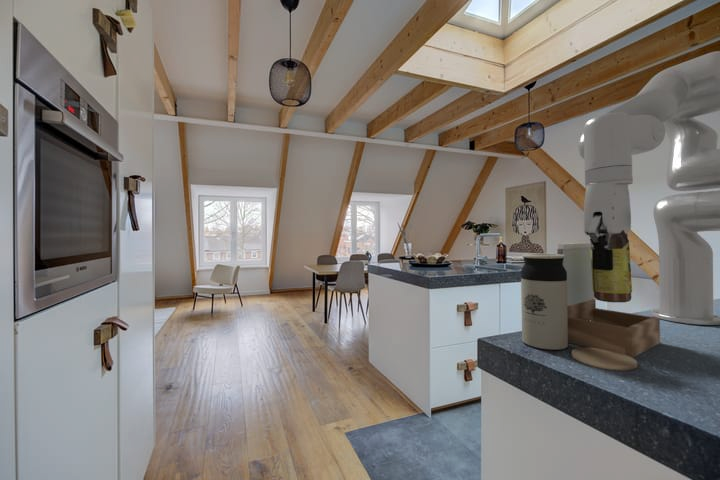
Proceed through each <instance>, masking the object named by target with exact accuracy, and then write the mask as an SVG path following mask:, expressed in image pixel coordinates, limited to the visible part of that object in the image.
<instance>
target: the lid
mask: <svg viewBox="0 0 720 480" xmlns="http://www.w3.org/2000/svg"><path fill="white" fill-rule="evenodd" d="M590 249H591V242H575V243H558V244H557V251H556V252H557V253H556V254H561V255H565V258H564V259H563V264H562V265H563V266H564V268H565V270H566V271H567V306H570V305H574V304H578V303H582V302H586V301H590V300H594V299H595V298H594V292H593V285H592V268H591V252H590Z"/></svg>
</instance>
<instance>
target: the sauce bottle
mask: <svg viewBox="0 0 720 480" xmlns="http://www.w3.org/2000/svg"><path fill="white" fill-rule="evenodd" d="M599 233H607V232H599ZM627 237H628V236H626V234H625V232H624V230H622V232H621V233H618V234H615V235H612V239H611V246H610V249H611V250H613V270H595V269H593V261H592V248H591V249H590V252H591V268H592V285H593V292H594V298H595V299H596V300H597V301H600V302H604V303H605V302H607V303H627V302H630V301H631V300H632V293H633V288H632V287H633V286H632V268H631V267H632V266H631V253H630V252H631V251H630V240H629V239H628V238H629V237H628V238H627ZM590 239H591V238H590V237H589V240H590ZM605 239H606V238H604V241H605ZM590 243H591V244H592V242H591V241H590Z"/></svg>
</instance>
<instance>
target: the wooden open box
mask: <svg viewBox="0 0 720 480" xmlns="http://www.w3.org/2000/svg"><path fill="white" fill-rule="evenodd" d="M596 300H597V299H594V300H590V301H586V302H582V303H578V304H574V305H570V306H567V314H568V344H569V343H570V344H574V345H578V346H581V347H584V348H585V347H587V348H600V349H606V350H611V351H615V352H619V353H622V354H625V355H628V356H630V357H632V358H633V359H634V358H635V357H637V356H639V355H641V354H642V353H644V352H646V351H648V350H650V349H651V348H653V347H655V346H657V345H659V344H660V343H661V329H660V327H661V321H660V318H657V317H654V316H649V315H643V314H642V315H641V314H636V313H630V312H624V311H623V312H622V311H617V310H611V309H604V308H599V307H598V308H596V307H597V306H596V303H597V302H596ZM590 320H591V321H590Z"/></svg>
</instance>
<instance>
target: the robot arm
mask: <svg viewBox="0 0 720 480" xmlns="http://www.w3.org/2000/svg"><path fill="white" fill-rule="evenodd" d="M715 112H720V50H717V51H711V52H708V53H706V54H703V55H700V56H697V57H695V58H692V59H690V60H689V59H688V60H687V61H684V62H681V63H678V64H675V65H673V66H670V67H668V68H666V69H663V70H662V71H660V72H658V73H657V74H655V75H654V76H652V78H650V80H649V81H648V82H647V83H646V85H644V86H643V87H642V89H641V90H640V91H639V92H638V93H637V94H636V95H635V96H633V97H630V98H629V99H628V100H626V101H624V102H623V103H621V104H619V105H618V106H616V107H614V108H613V109H610V110H609V111H607V112H605V113H604V114H600V115H597V116H594V117H592V118H590V119H588V120H587V121H586V122H585V124H584V126H583V133H582V134H581V136H580V138H579V141H578V147H577V148H578V153H579V155H580V157H581V158H582V160H583V161H584V189H585V194H584V202H583V233H584V234H585V235H586V236H589V241H590V243H591V242H592V244H591V248H592V261H593V269H595V270H613V250H611V249H610V246H611V239H612V235H615V234H618V233H621V232H622V230H624V232H625V234H626V236H627V238H629V237H628V236H629V235H628V233H629V232H630V231H631V229H632V214H631V213H632V211H631V200H630V191H629V185H632V184H633V183H634V180H633V176H634V175H633V156H634V155H641V154H644V153H648V152H651V151H653V150H654V149H656V148H658V147H659V146H660V145H661V144H662V142H663V141H664V138H665V137H666V135H667V137H668V139H669V144H670V147H669V153H668V154H669V155H668V162H667V170H666V184H667V186H668V187H669V189H671V190H672V191H676V192H686V193H677V194H671V195H667V196H664V197H662V198H661V199H659V200H658V201H656V202H655V204H654V206H653V210H652V211H653V219H654V223H655V227H656V233H657V239H658V284H659V285H658V286H659V287H658V289H659V290H658V292H659V294H658V295H659V309H660V310H655V309H653V311H652V310H651V315H652V317H657V318H660V319H661V320H665V321H669V322H675V323H679V324H680V323H682V324H687V325H688V324H689V325H698V326H699V325H700V326H701V325H702V326H719V325H720V316H719V315H715V313H714V252H713V248H712V246H711V245H710V243H709V242H707V240H706V239H704V237H702V236H701V235H700V234H699V232H700V233H701V232H720V147H719V148H718V139H719V138H718V137H719V136H718V135H719V134H718V133H717V131H716V130H715V129H714V128H712V126H709V125H708V124H707V123H705V122H702V121H699V120H697V119H696V118H695V117H700V116H703V115H708V114H711V113H715ZM715 189H719V190H715ZM704 190H710V191H704ZM696 191H697V192H696ZM599 232H607V233H599ZM590 238H591V239H590ZM604 238H606V239H605V241H604ZM663 308H664V309H663Z"/></svg>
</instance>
